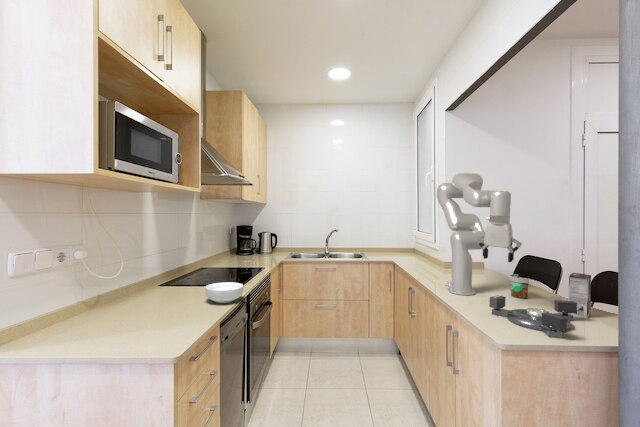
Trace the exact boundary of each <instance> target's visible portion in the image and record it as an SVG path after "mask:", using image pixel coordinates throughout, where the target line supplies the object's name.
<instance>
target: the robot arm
mask: <svg viewBox="0 0 640 427" xmlns="http://www.w3.org/2000/svg"><path fill="white" fill-rule="evenodd" d="M483 185H484V180H483V178H482V175H480V174H478V173H473V172H472V173H470V172H469V173H468V172H467V173H466V172H461V173H460V172H459V173H457V174H455V175H454V176H453V177H452V180H451V182H444V183H441V184H439V185H438V186H437V189H436V199H437V202H438V204H439V206H440V207H441V208H442V211H443V213H444V217H445V219H446V223H447V226H448V227H449V228H448V229H450V231H453V232H452V234H451V235H450V239H449V240H450V247H451V248H450V249H451V281H450V282H448V281H444V286H445V287H448V292H449V293H450V294H454V295H459V296H474V295H476V290H474V289H473V288H472V287H473V283H472V282H473V257H472V255H471V253H470V252H469V250H471V251H472V250H482V257H483V259H484V260H485V259H488V258H489V257H488V256H489V249H488V248H489V247H494V248H501V249H502V248H504V249H507V250H508V251H509V252H508V254H507V262H508V263H512V262H513V261H514V257H515V253H516V251H518V250H519V249H520V248H521V246H522V245H523V244H522V242H521V241H519V240H517V239H516V238H514V235H513V225H512V223H511V222H510V221H511V220H510V219H511V205H512V203H511V202H512V193H511V192H510V191H508V190H489V189H488V190H486V189H485V190H483V189H482V187H483ZM453 199H463V201H464V202H465V203H466V204H468V205H469V206H471V207H473V208H489V215H488V216H486V217H485V218H486V219H485V220H487V221H489V222H486V227H485V229H484V227H483V225H482V223H481V220H480V218H479V216H477V215H476V214H474V213H464V212H463V211H462V209H461V207H460V205H459V203H458V202H456V201H455V200H453ZM513 243H514V244H515V247H513Z"/></svg>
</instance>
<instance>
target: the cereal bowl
mask: <svg viewBox="0 0 640 427" xmlns="http://www.w3.org/2000/svg"><path fill="white" fill-rule="evenodd" d="M204 290H205V293H204V294H205V295H206V297H207V298H208V299H209V300H210V301H214V303H217V304H229V303H232V302H234V301H235V300H237V299H238V298H240V297H242V295H243V293H244V284H243V283H239V282H232V281H231V282H225V281H224V282H223V281H222V282H216V283H214V282H213V283H211V284H210V283H209V284H207V285H206V286H205V289H204Z"/></svg>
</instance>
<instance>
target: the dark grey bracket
mask: <svg viewBox="0 0 640 427" xmlns="http://www.w3.org/2000/svg"><path fill="white" fill-rule="evenodd" d="M488 305H489V308H492V309H493V308H495V309H498V308H501V309H505V308H504V307H506V296H505V295H502V294H500V295H499V294H498V295H493V296H489V304H488Z"/></svg>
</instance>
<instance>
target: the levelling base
mask: <svg viewBox="0 0 640 427" xmlns="http://www.w3.org/2000/svg"><path fill="white" fill-rule="evenodd" d="M553 308H554V311H555V312H556V313H555V312H554V313H552V312H549V311H548V310H547V309H544V308H538V307H528V308H526V309H524V308H523V309H522V308H516V309H510V310H509V309H505V308H498V309H495V308H492V309H491V315H494V316H498V317H503V318H506V319H507V320H508V322H510V323H512V324H513V325H517V326H519V327H522V328H526V329H530V330H533V331H539V332H542V333H543V334H545V335H546V336H547V337H548V338H555V339H563V333H565V332H568V331H570V330H571V322H573V321H574V315H570V314H571V313H575V314H577V303H576V302H574V301H569V300H561V299H559V300H558V299H554V307H553ZM568 313H569V314H568Z"/></svg>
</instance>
